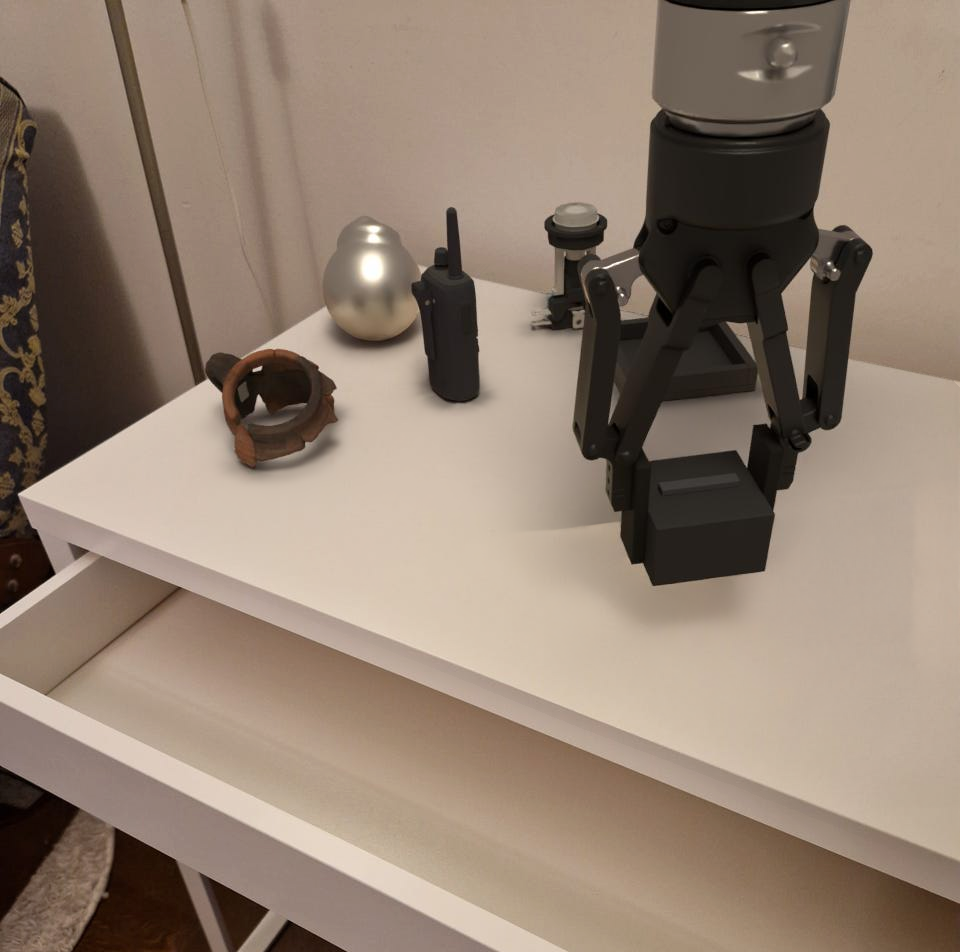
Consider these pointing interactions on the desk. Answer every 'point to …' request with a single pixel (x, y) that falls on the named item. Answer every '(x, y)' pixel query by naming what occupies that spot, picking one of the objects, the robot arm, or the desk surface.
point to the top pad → (705, 519)
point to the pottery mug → (272, 400)
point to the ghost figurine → (371, 281)
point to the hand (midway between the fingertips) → (692, 541)
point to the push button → (570, 261)
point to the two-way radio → (449, 320)
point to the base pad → (695, 362)
